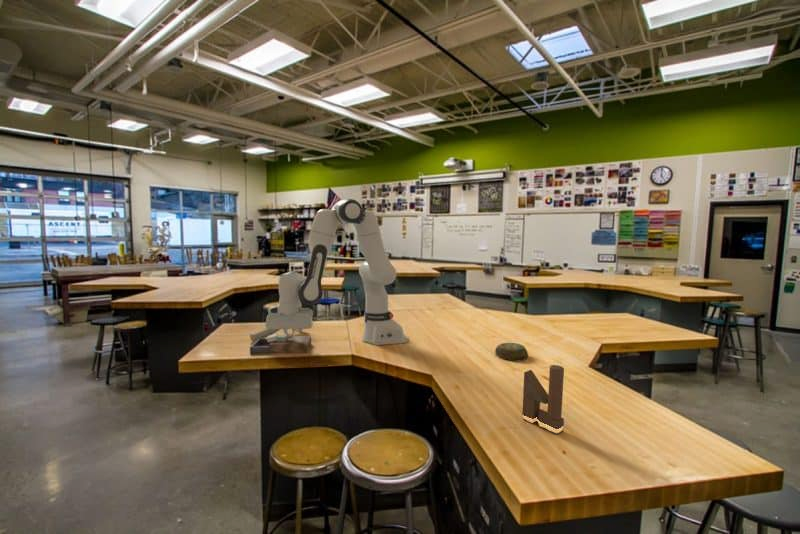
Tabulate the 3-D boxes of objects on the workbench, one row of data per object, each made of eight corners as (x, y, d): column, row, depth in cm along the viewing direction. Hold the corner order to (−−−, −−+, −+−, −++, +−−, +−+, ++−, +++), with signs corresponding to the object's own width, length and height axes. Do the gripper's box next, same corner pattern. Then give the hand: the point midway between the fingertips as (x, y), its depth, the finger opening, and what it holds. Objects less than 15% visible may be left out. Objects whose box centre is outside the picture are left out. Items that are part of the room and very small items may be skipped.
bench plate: (311, 344, 176) (311, 335, 176) (306, 353, 164) (306, 344, 163) (276, 344, 175) (276, 336, 175) (269, 353, 162) (268, 344, 162)
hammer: (251, 325, 173) (302, 301, 195) (246, 323, 175) (296, 300, 198) (259, 355, 177) (308, 328, 200) (253, 353, 180) (302, 326, 203)
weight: (489, 353, 167) (489, 342, 166) (514, 350, 171) (515, 339, 171) (507, 363, 154) (507, 351, 154) (534, 360, 159) (534, 348, 158)
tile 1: (278, 338, 170) (277, 333, 170) (276, 340, 166) (275, 336, 166) (269, 339, 170) (268, 335, 170) (267, 342, 166) (266, 337, 166)
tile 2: (287, 338, 171) (287, 334, 171) (285, 341, 167) (285, 337, 167) (278, 338, 170) (278, 334, 170) (276, 341, 166) (276, 337, 166)
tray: (276, 344, 175) (276, 338, 175) (269, 353, 162) (268, 346, 162) (259, 344, 174) (258, 338, 174) (250, 353, 162) (249, 347, 161)
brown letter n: (528, 415, 111) (531, 356, 109) (563, 431, 102) (567, 367, 100) (521, 419, 108) (524, 359, 106) (556, 435, 100) (560, 370, 98)
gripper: (313, 306, 171) (314, 335, 173) (268, 306, 170) (268, 336, 171) (311, 309, 165) (312, 339, 166) (264, 309, 163) (265, 340, 165)
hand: (289, 338), depth 169 cm, fingers closed
